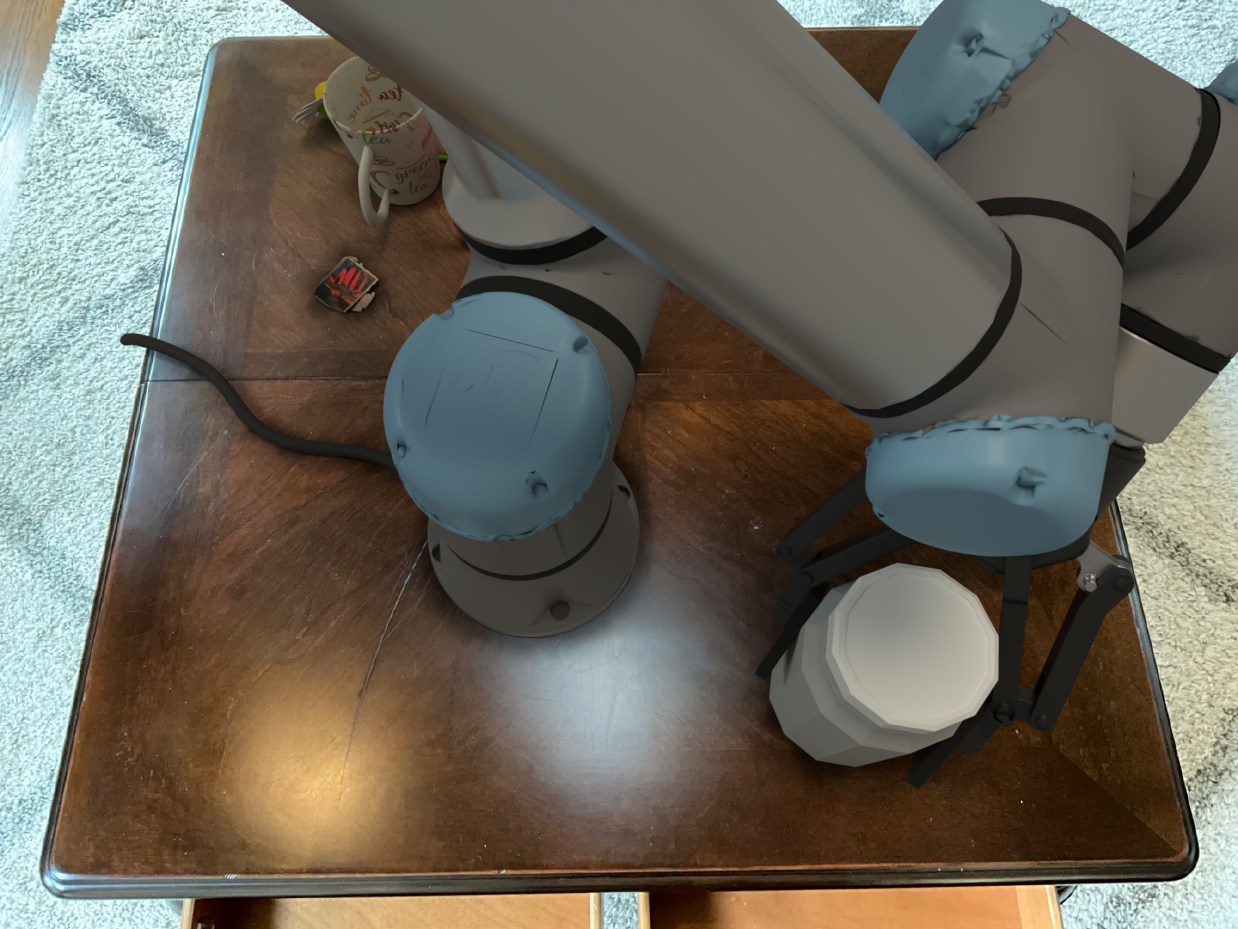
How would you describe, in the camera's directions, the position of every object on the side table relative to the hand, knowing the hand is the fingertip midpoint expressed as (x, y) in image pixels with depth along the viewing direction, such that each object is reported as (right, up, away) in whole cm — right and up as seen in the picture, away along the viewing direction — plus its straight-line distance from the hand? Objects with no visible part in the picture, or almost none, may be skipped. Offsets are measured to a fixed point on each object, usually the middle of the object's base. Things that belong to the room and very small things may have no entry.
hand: (838, 718), depth 52 cm
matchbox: (-35, +30, +21) cm, 51 cm away
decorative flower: (-34, +45, +25) cm, 62 cm away
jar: (+2, -1, +8) cm, 9 cm away
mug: (-32, +38, +25) cm, 56 cm away
